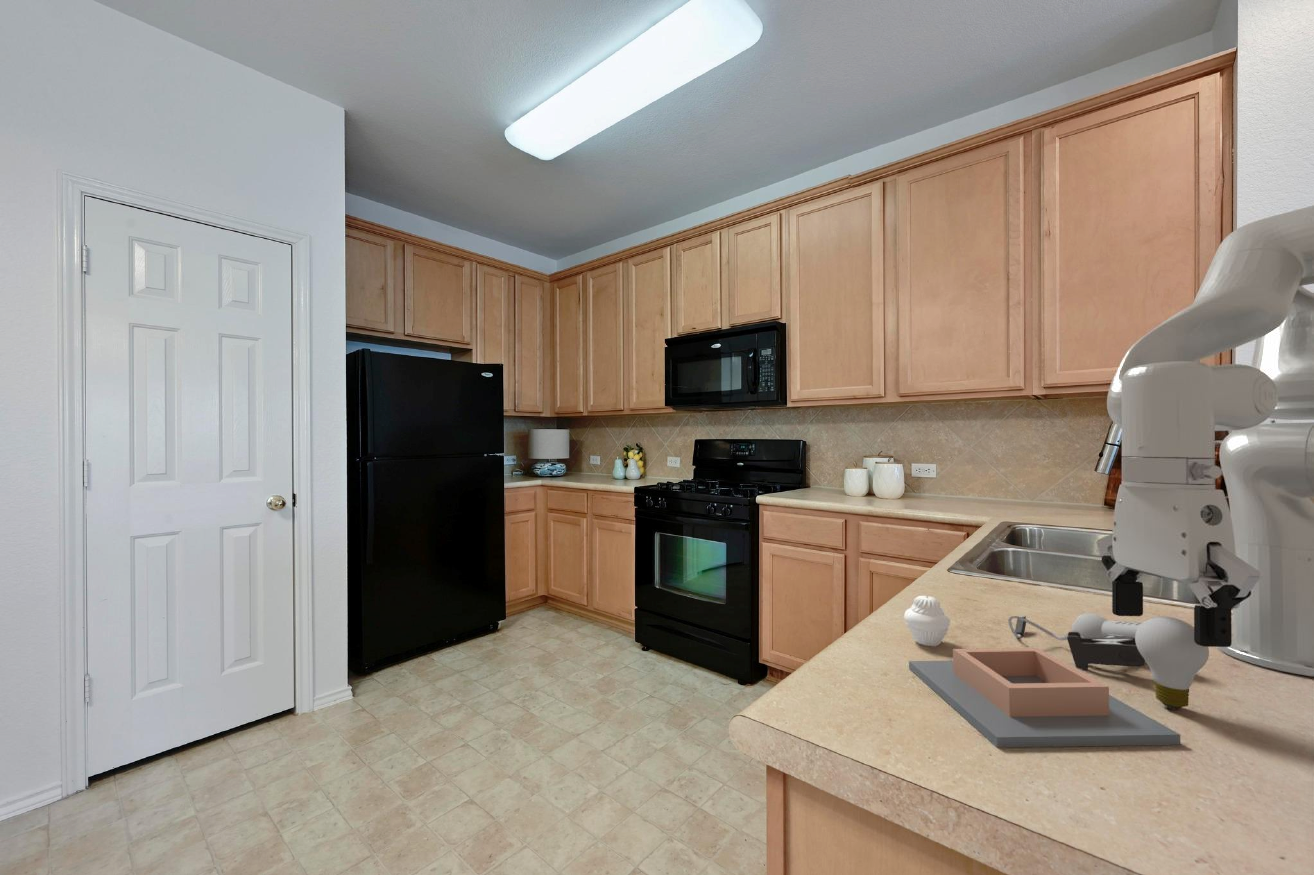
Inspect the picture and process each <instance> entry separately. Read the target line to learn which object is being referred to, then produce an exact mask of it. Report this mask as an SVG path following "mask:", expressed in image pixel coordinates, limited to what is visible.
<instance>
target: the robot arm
mask: <svg viewBox="0 0 1314 875" xmlns="http://www.w3.org/2000/svg"><path fill="white" fill-rule="evenodd" d="M1308 285H1314V205H1310V206H1306V207H1303V208H1299V209H1296V210H1295V209H1293V210H1291V211H1287V212H1283V213H1279V214H1276V215H1275V214H1274V215H1272V216H1269V217H1265V218H1262V219H1258V220H1254V221H1252V222H1249V223H1247V224H1244V225H1242V226H1240V227H1237V229H1235V230H1233V231H1232V232H1230V233H1229V234H1228V235H1227V236H1226V237H1225V238H1224V239H1223V240H1222V241H1221V243H1220V244H1219V246H1218V247H1217V250H1216V252H1215V254H1214V256H1213V258H1212V260H1211V263H1210V265H1209V266H1208V269H1207V272H1206V274H1205V277H1204V278H1203V280H1202V283H1201V284H1200V287H1199V289H1198V292H1197V293H1196V296H1195V298H1194V300H1193V303H1192V304H1191V305H1188V306H1187V307H1185V308H1184V309H1182V310H1180V311H1178V312H1177V313H1174V315H1172V316H1170V317H1169V318H1168V319H1166V320H1164V321H1163V322H1162V323H1160V324H1159V325H1157V326H1156V327H1155V328H1153V329H1152V330H1150V331H1148V333H1145V334H1144V335H1143V336H1142V337H1141V338H1139V339H1138V340H1136V342H1134V343H1133V345H1131V347H1130V348H1129V349H1128V350H1127V351H1126V353H1125V354H1124V355H1123V358H1122V359H1121V361H1120V362H1119V365H1118V368H1117V370H1116V371H1115V374H1114V376H1113V377H1112V380H1111V382H1110V386H1109V388H1108V393H1107V398H1106V409H1107V410H1106V411H1107V412H1108V416H1109V418H1110V420H1112V422H1113V423H1114V425H1117V426H1118V427H1119V428H1121V484H1119V487H1118V491H1117V495H1116V500H1115V505H1114V511H1113V512H1114V513H1113V522H1112V533H1110V534H1108V535H1106V536H1104V537H1101V538H1099V539H1097V540H1096V547H1097V548H1098V551H1099V554H1100V556H1101V563H1102V565H1103V566H1104V568H1105V569H1106V570H1107V574H1106V575H1107V578H1108V579H1109V580H1110V581H1111V584H1112V586H1111V588H1112V589H1111V590H1112V591H1111V595H1112V596H1111V609H1112V610H1111V611H1112V614H1113V615H1114V616H1117V617H1141V616H1143V615H1144V586H1143V582H1142V581H1137V580H1138V579H1140V578H1141V577H1142V575H1143V574H1145V575H1149V576H1154V577H1157V578H1161V579H1165V580H1169V581H1172V582H1173V581H1174V582H1177V583H1181V584H1182V583H1183V584H1187V585H1188V587H1189V588H1190V590H1191V591H1192V592H1193V594H1194V596H1196V598H1197V600H1198V601H1199V603H1200V604H1197V605H1196V604H1194V608H1193V627H1194V641H1195V643H1196V644H1198V645H1200V646H1204V647H1208V648H1209V647H1211V648H1213V647H1214V648H1215V647H1216V648H1218V649H1219V650H1220V651H1222V652H1223V653H1225V654H1227V655H1229V656H1231V657H1233V658H1236V659H1238V660H1241V661H1243V662H1245V663H1246V662H1247V663H1250V664H1253V665H1257V666H1261V667H1263V668H1268V669H1271V670H1276V671H1279V672H1284V673H1290V674H1294V675H1301V676H1307V677H1312V678H1313V677H1314V502H1313V501H1312V500H1311V499H1310V498H1314V422H1279V423H1265V424H1263V422H1265V421H1267V420H1268V419H1272V420H1286V421H1302V420H1303V421H1307V420H1308V421H1310V420H1311V421H1313V420H1314V292H1313V291H1310V290H1308V289H1306V288H1305V287H1304V286H1308ZM1253 341H1255V344H1254V351H1253V356H1252V360H1251V361H1252V362H1251V365H1249V364H1240V363H1239V364H1238V363H1232V364H1231V363H1230V364H1229V363H1227V364H1219V365H1218V364H1217V365H1208V364H1206V363H1205V362H1204V363H1203V362H1199V361H1200V360H1203V359H1206V358H1209V357H1212V356H1215V355H1218V354H1222V353H1224V352H1227V351H1230V350H1232V349H1233V350H1234V349H1236V348H1238V347H1241V346H1242V345H1246V344H1247V343H1250V342H1253ZM1221 431H1222V432H1228V431H1231V432H1230V433H1229V434H1228V435H1226V436H1225V437H1224V438H1223V440H1222V442H1221V444H1220V447H1219V452H1218V453H1219V455H1218V456H1219V462H1220V466H1218V465H1216V459H1215V458H1216V456H1215V455H1216V443H1215V442H1216V441H1215V440H1216V437H1215V435H1216V433H1215V432H1221ZM1222 475H1223V479H1224V483H1225V486H1226V491H1227V497H1228V500H1227V498H1226V495H1225V492H1224V490H1223V489H1216V479H1219V478H1220V477H1221V476H1222ZM1209 587H1210V588H1211V589H1212V591H1213V592H1211V590H1210V589H1209Z"/></svg>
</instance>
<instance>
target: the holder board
mask: <svg viewBox="0 0 1314 875" xmlns="http://www.w3.org/2000/svg"><path fill="white" fill-rule="evenodd" d="M908 669H909V670H910V671H911V672H912V673H913V674H914V675H915V676H917V678H919V679H920V680H921V681H922V682H924V684H926V685H927V686H928V687H929V688H930V689H931V690H932V691H933V692H934V693H936V694H937V695H938V696H939V697H940V698H941V699H943V701H944V702H946V703H947V704H948V705H949V706H950V707H951V708H953V709H954V711H956V712H957V713H958V714H959V715H961V717H962V718H963V719H965V720H966V721H967V722H968V723H969V724H970V725H972V727H974V728H975V729H976V730H977V731H978V732H979V733H980V734H981V735H983V737H985V738H986V739H987V740H988V741H989V742H990V743H991V744H993V745H994V746H995V747H996V748H1046V747H1047V748H1049V747H1050V748H1051V747H1053V748H1056V747H1059V748H1062V747H1112V746H1113V747H1116V746H1117V747H1118V746H1119V747H1121V746H1175V745H1176V746H1180V745H1181V734H1180V733H1178V732H1177V731H1175V730H1173V729H1171V728H1170V727H1168V726H1166V725H1164V724H1162V723H1160V722H1159V721H1157V720H1156V719H1153V718H1152V717H1150V716H1148V715H1146V714H1144V713H1142V712H1140V711H1139V710H1138V709H1135V708H1134V707H1132V706H1130V705H1129V704H1126V703H1125V702H1123V701H1121V700H1119V699H1117V698H1116V697H1114V696H1113V695H1110V686H1109V685H1107V684H1105V683H1103V682H1101V681H1099V680H1098V679H1095V678H1094V677H1092V676H1090V675H1088V674H1087V673H1085V672H1083V671H1081V670H1079V669H1078V668H1076V667H1074V666H1072V665H1070V664H1067V662H1065V661H1063V660H1060V659H1058V658H1057V657H1055V656H1053V655H1052V654H1049V653H1047V652H1046V651H1044V650H1042V649H1040V648H1038V647H1017V648H1016V647H1009V648H1008V647H1004V648H1002V647H1000V648H996V647H995V648H992V647H990V648H953V649H952V660H909V661H908Z"/></svg>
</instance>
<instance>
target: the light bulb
mask: <svg viewBox="0 0 1314 875" xmlns="http://www.w3.org/2000/svg"><path fill="white" fill-rule="evenodd" d="M1141 623H1142V624H1141V625H1140V626H1139V627H1138V629H1137V631H1136V635H1135V642H1136V646H1137V648H1138V650H1139V652H1140V654H1141V655H1142V656H1143V658H1144V659H1145V663H1147V665H1148V668H1149V670H1150V673H1151V677H1152V678H1153V680H1154V689H1155V690H1154V691H1155V698H1156V700H1158V701H1159V702H1160V703H1161V704H1163V705H1164V706H1165V707H1166V708H1168V709H1171V710H1175V711H1176V710H1179V709H1182V708H1184V707H1188V706H1189V702H1190V701H1189V699H1190V698H1189V696H1190V687H1191V686H1192V684H1193V682H1194V678H1195V677H1196V674H1197V673H1198V672H1199V671H1200V670H1201V669H1202V668H1204V666H1205V665H1206V664H1207V662H1208V660H1209V655H1210V650H1209V647H1204V646H1200V645H1198V644H1196V643H1195V641H1194V625H1192V624H1190V623H1188V622H1186V621H1184V620H1182V619H1180V618H1177V617H1176V618H1175V617H1171V616H1154V617H1152V618H1148V619H1146V620H1144V621H1143V622H1141Z"/></svg>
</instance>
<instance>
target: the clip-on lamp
mask: <svg viewBox="0 0 1314 875" xmlns="http://www.w3.org/2000/svg"><path fill="white" fill-rule="evenodd" d="M1013 619H1016V623H1015V629H1014V626H1013V623H1012V620H1013ZM1007 621H1008V625H1009V628H1010V631H1011V633H1012V634H1013V636H1015V638H1018V639H1020V638H1021V637H1024V636H1025V632H1026V626H1027V624H1030V625H1031V626H1032V627H1035V628H1036V629H1038V630H1040V631H1042V632H1044V633H1046V634H1047V635H1049V636H1050V637H1051V638H1055V639H1056V640H1059V641H1066V640H1067V643H1068V646H1069V650H1070V652H1071V654H1072V659H1073V662H1074V666H1075V669H1080V670H1083V671H1087V670H1089V667H1090V666H1089V664H1090V665H1102V666H1117V667H1118V666H1119V667H1132V668H1143V667H1144V666H1145V665H1146V661H1145V659H1144V658H1143V656H1142V655H1141V654H1140V652H1139V650H1138V648H1137V646H1136V642H1135V635H1136V631H1137V629H1138V627H1139V626H1140V625H1141V624H1142V623H1143V622H1135V621H1122V620H1119V621H1118V620H1109V619H1107V618H1106V617H1105V616H1101V615H1099V614H1097V613H1096V614H1095V613H1083V614H1079V615H1077V617H1076V619H1075V621H1074V622H1073V623H1072V624H1071V628H1070V631H1068V633H1067V634H1065V635H1063V636H1059V635H1057V634H1054V633H1053V632H1051V631H1049V630H1048V629H1045V628H1044V627H1042V626H1041V625H1038V623H1037V624H1036V623H1035V622H1033V621H1031V620H1029V619H1027V616H1026V615H1024V614H1022V615H1021V616H1018V615H1010V616H1009V617H1008V620H1007Z"/></svg>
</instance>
